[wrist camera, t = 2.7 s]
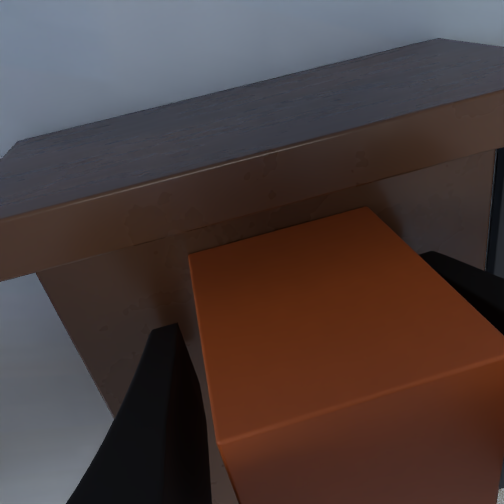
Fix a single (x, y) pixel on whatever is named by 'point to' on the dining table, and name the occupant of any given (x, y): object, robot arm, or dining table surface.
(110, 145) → the shelf
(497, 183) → the mat
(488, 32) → the dining table surface
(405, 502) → the rust block
